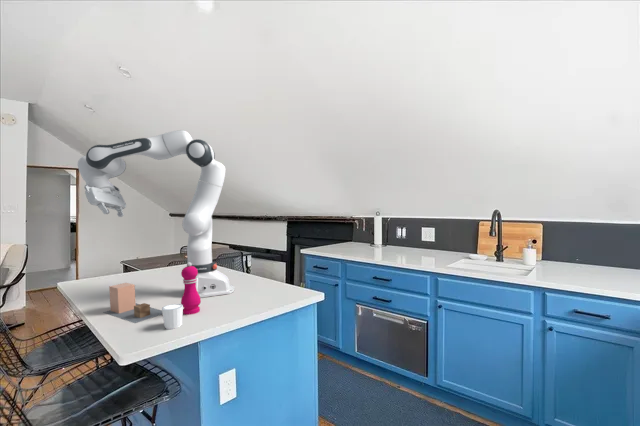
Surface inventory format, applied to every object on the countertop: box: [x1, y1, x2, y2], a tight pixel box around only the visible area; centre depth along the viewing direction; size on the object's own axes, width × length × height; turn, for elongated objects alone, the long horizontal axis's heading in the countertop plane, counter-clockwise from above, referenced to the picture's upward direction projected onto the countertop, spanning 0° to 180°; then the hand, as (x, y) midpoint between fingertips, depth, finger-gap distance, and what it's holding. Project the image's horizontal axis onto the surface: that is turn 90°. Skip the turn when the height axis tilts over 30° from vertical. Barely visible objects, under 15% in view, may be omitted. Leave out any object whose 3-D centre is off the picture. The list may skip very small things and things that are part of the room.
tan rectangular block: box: [108, 282, 136, 313], centre depth 136 cm, size 7×7×10 cm
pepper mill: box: [180, 261, 202, 316], centre depth 131 cm, size 7×7×20 cm
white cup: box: [161, 303, 184, 330], centre depth 118 cm, size 7×7×7 cm
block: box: [134, 302, 151, 318], centre depth 128 cm, size 4×4×4 cm
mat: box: [103, 302, 163, 324], centre depth 133 cm, size 24×13×1 cm, turn 57°
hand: (114, 214), depth 147 cm, fingers open, 8 cm apart
